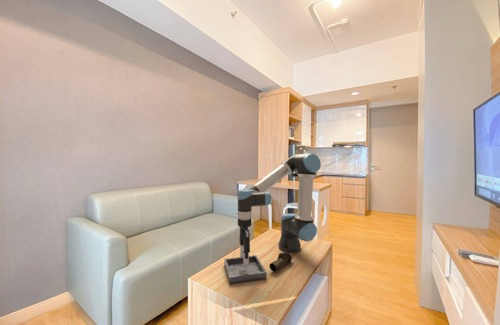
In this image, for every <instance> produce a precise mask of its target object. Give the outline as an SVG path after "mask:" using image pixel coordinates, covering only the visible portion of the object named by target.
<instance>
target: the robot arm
mask: <svg viewBox="0 0 500 325" xmlns="http://www.w3.org/2000/svg"><path fill="white" fill-rule="evenodd" d="M321 163H322V162H321V160H320V158H319V156H318V155H317V154H315V153H309V152H307V153H306V152H305V153H295V154H293V155H291V156H289V157H288V158H286V159H284V161H283V162H281V163H280V166H278V167H277V168H275V170H273V171H272V172H270V173H269V174H268V175H266V176H265V177H264V178H263V179H261V180H260V181H258V182H257V183H256V184H254V185H253V186H251V187H250V188H246V189H245V188H244V189H243V188H242V189H239V190H238V192H237V212H236V215H237V227H239V240H238V241H239V244H240V246H239V247H240V249H239V254H240V256H239V257H240V258H242V257H243V264H244V265H246V264H249V256H250V252H251V245H250V244H251V243H250V242H251V240H250V239H251V238H250V237H251V236H250V235H251V232H250V230H249V228H250V227H251V226H252V217H253V216H252V215H253V214H252V211H253V209H252V208H253V207H265V206H269V205H271V204H272V202H273V201H272V199H273V198H272V194H271V193H270V192H268V190H270V189H271V188H273V187H274V186H275V185H276V184H278V183H279V182H280V181H281V180H282V179H284V178H286V176H288V175H292V173H295V172H296V174H297V176H298V177H299V179H298V190H297V191H298V192H297V194H298V195H297V211H296V213H291V212H290V213H283V214H282V215H281V217H280V238H279V241H278V245H277V246H278V249H279V250H281V251H283V252H285V253H296V252H299V251H301V249H302V245H301V241H304V242H310V241H313V240H314V239H315V237H316V236H317V233H318V228H317V226H316V224H315V223H314V217H313V216H312V206H313V190H314V188H313V187H314V178H315V177H316V175H317V172H319V171H320V169H321V167H322V166H321V165H322V164H321ZM300 240H301V241H300Z"/></svg>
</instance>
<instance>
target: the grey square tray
mask: <svg viewBox="0 0 500 325" xmlns="http://www.w3.org/2000/svg"><path fill="white" fill-rule="evenodd" d="M223 265H224V268H225V272H226V273H225V274H226V277H227V281H228V283H229V286H231V285H236V284H243V283H244V284H245V283H250V282H255V281H263V280H267V277H268V276H267V271H266V269H265V267H264V266H263V264H262V262H261V261H260V259H259V257H258V256H257V255H255V254H254V255H249V264H246V265H244V264H243V257H242V258H240V256H238V257H231V258H224V264H223Z"/></svg>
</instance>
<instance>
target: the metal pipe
mask: <svg viewBox="0 0 500 325" xmlns="http://www.w3.org/2000/svg"><path fill="white" fill-rule="evenodd" d="M292 261H293V255H292V254H290V252H280V253H279V254H278V256H277V259H276V260H275V261H272V262H270V263H269V269H270V271H272V272H273V273H277V272H278V270H279V269H281V268H282V267H283V266H285V265H286V264H291V262H292Z"/></svg>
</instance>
